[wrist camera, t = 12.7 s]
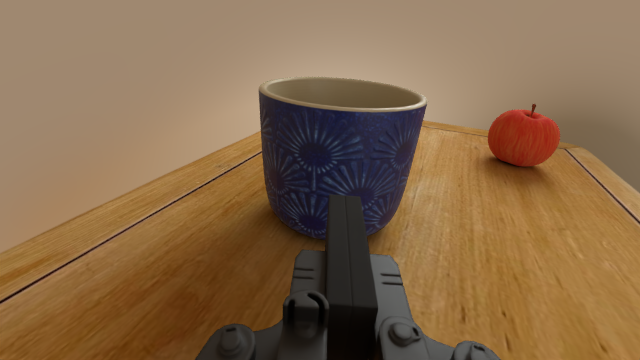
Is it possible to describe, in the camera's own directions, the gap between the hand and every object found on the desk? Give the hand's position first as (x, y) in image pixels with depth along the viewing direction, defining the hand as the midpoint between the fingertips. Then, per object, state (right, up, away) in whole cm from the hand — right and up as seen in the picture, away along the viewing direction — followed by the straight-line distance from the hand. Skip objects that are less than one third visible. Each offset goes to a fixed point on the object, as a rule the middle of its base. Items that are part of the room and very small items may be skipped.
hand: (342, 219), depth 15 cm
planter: (0, -1, +13) cm, 13 cm away
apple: (+26, +4, +28) cm, 38 cm away
